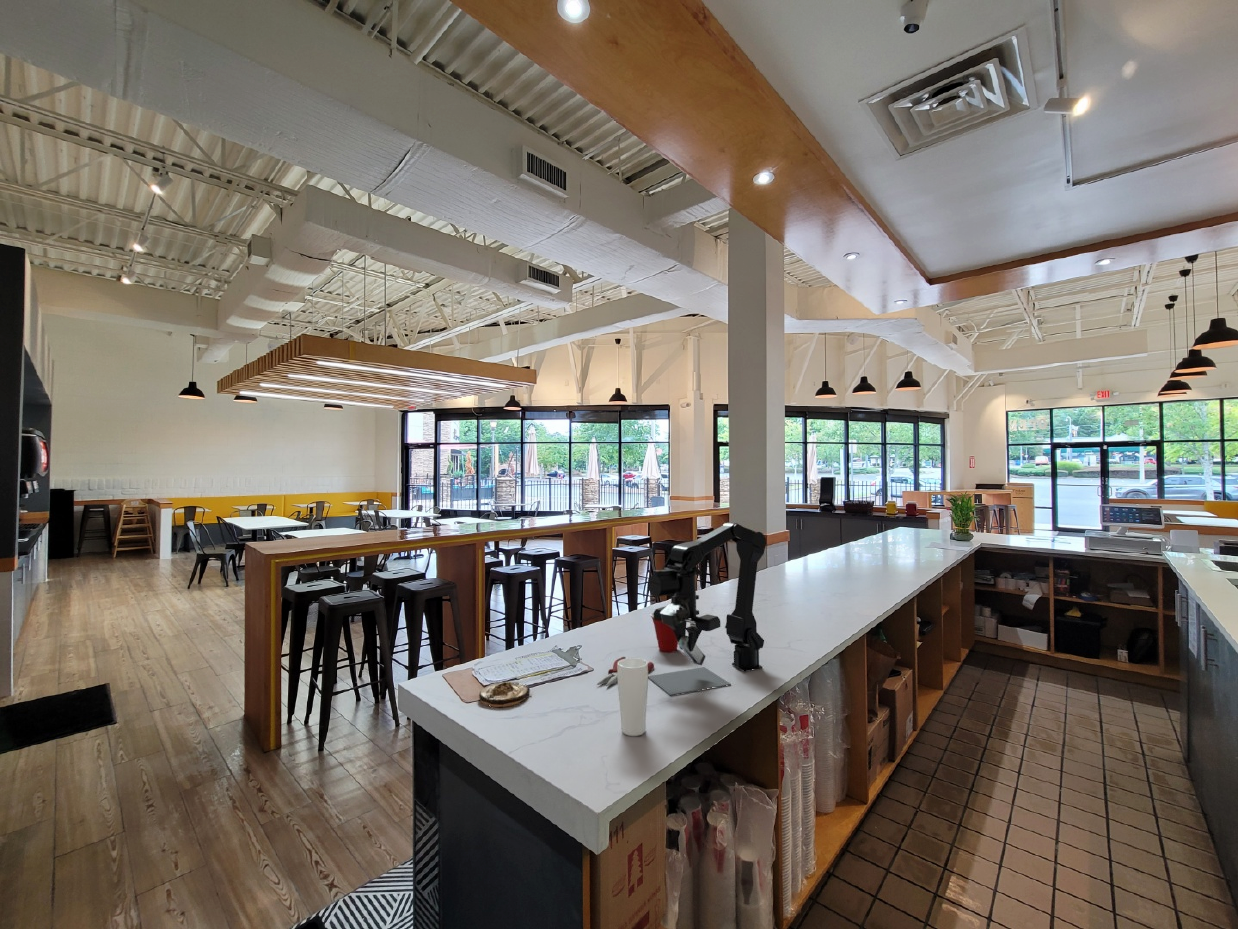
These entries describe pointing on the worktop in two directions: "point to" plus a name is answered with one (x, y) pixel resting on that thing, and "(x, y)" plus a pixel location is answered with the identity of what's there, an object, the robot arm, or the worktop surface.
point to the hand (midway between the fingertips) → (686, 650)
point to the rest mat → (687, 681)
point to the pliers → (612, 673)
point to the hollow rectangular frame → (694, 655)
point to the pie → (504, 694)
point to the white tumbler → (633, 694)
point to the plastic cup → (665, 636)
